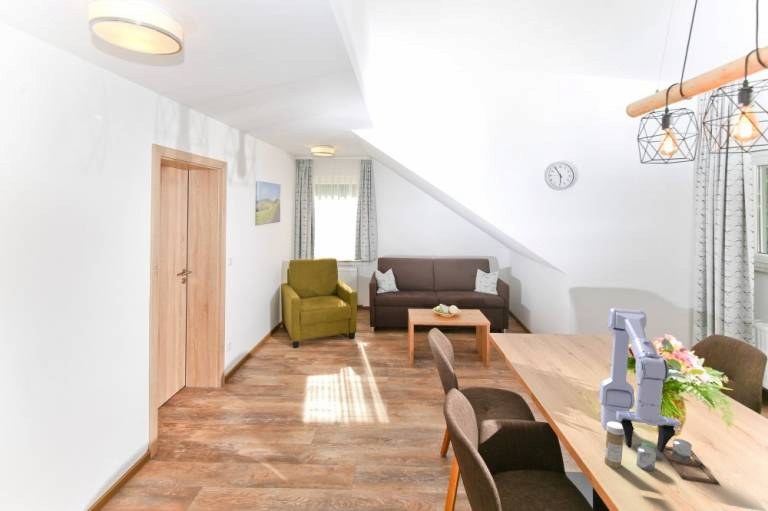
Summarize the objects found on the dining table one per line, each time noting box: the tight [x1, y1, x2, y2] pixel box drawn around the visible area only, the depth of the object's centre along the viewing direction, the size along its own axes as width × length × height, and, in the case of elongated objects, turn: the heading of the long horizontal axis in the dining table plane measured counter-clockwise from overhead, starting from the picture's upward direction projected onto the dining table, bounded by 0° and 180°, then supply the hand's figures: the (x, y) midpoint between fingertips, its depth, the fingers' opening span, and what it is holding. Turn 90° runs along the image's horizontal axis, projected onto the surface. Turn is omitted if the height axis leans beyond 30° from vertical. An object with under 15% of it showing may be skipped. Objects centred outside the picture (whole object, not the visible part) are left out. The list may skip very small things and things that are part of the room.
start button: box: [640, 440, 656, 450], centre depth 127 cm, size 3×3×3 cm
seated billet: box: [671, 438, 692, 462], centre depth 125 cm, size 4×4×6 cm
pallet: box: [662, 445, 720, 486], centre depth 122 cm, size 17×9×2 cm, turn 165°
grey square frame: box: [632, 442, 663, 461], centre depth 127 cm, size 6×6×2 cm
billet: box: [635, 446, 657, 472], centre depth 120 cm, size 4×4×6 cm
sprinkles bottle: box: [603, 422, 625, 469], centre depth 120 cm, size 5×5×14 cm
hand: (644, 448), depth 114 cm, fingers open, 7 cm apart
